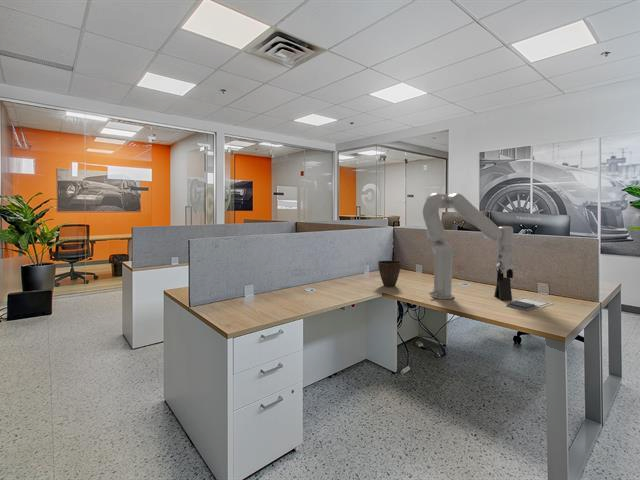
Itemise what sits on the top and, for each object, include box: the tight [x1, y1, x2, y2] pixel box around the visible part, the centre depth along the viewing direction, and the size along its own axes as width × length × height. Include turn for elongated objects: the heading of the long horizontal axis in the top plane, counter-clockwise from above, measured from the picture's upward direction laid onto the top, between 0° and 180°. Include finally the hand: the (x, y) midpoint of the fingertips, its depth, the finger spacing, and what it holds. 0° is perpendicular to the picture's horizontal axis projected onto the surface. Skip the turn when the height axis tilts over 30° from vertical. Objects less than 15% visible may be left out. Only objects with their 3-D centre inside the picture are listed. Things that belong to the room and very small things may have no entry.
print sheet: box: [510, 297, 553, 309], centre depth 178 cm, size 13×15×1 cm
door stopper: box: [493, 277, 513, 302], centre depth 186 cm, size 9×6×12 cm, turn 173°
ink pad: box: [506, 301, 538, 312], centre depth 170 cm, size 10×10×2 cm
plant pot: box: [377, 260, 402, 288], centre depth 220 cm, size 15×15×16 cm
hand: (505, 278), depth 186 cm, fingers open, 9 cm apart
